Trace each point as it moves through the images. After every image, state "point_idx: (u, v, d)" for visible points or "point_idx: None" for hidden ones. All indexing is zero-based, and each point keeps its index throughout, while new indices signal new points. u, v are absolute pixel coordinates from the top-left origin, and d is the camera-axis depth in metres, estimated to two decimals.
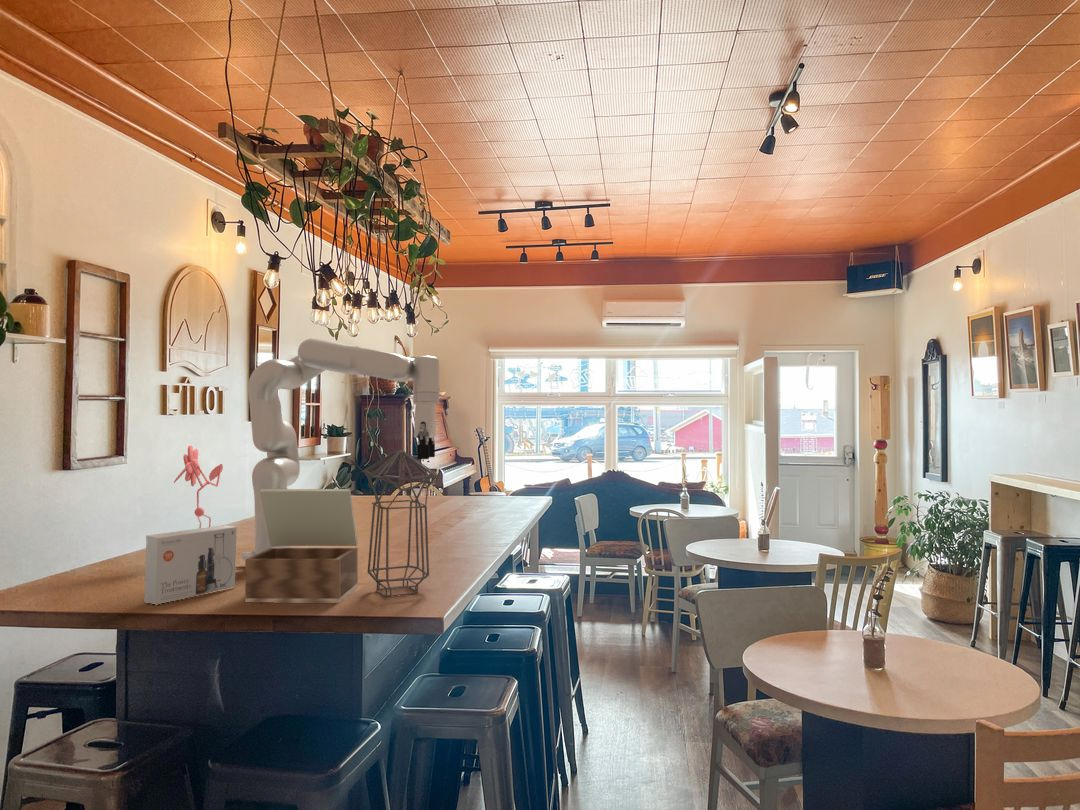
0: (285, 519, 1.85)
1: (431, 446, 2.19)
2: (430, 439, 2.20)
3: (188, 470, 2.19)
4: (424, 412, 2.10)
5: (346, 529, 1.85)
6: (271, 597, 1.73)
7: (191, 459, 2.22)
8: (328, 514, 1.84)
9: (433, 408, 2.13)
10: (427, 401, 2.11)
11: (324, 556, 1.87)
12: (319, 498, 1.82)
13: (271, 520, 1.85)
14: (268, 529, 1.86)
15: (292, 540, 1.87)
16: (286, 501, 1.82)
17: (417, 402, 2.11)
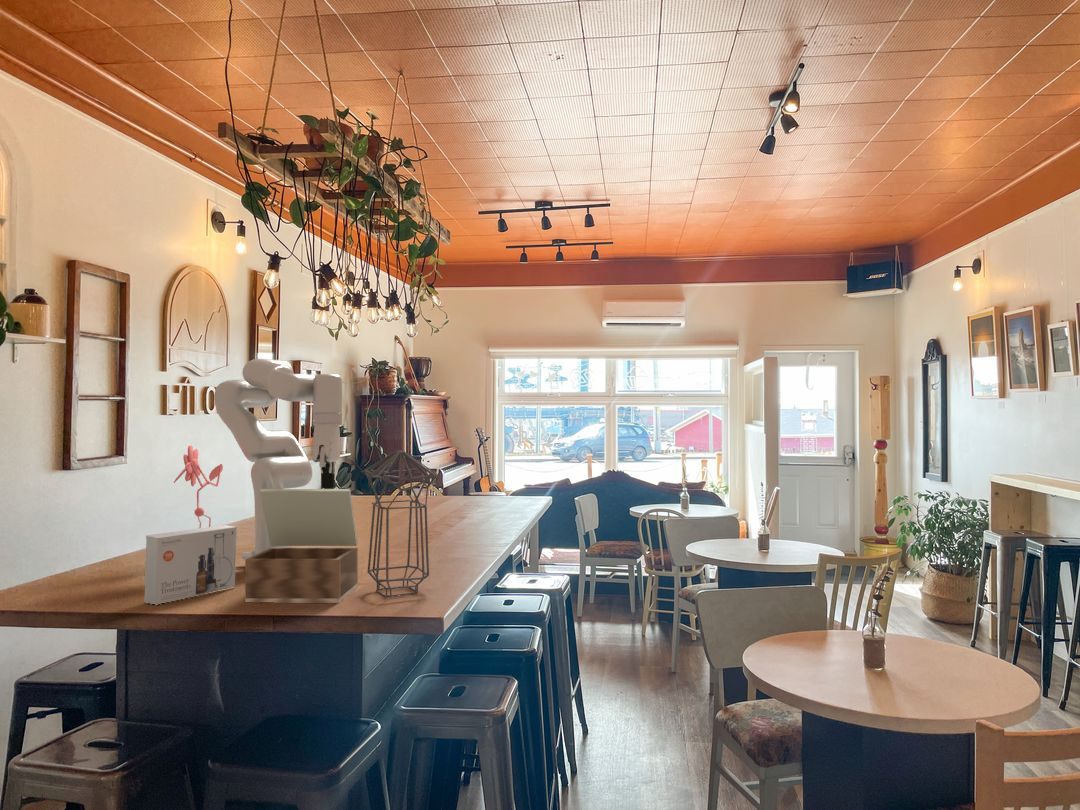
0: (285, 519, 1.85)
1: None
2: None
3: (188, 470, 2.19)
4: (323, 435, 1.95)
5: (346, 529, 1.85)
6: (271, 597, 1.73)
7: (191, 459, 2.22)
8: (328, 514, 1.84)
9: (334, 430, 1.98)
10: (327, 423, 1.96)
11: (324, 556, 1.87)
12: (319, 498, 1.82)
13: (271, 520, 1.85)
14: (268, 529, 1.86)
15: (292, 540, 1.87)
16: (286, 501, 1.82)
17: (316, 424, 1.97)
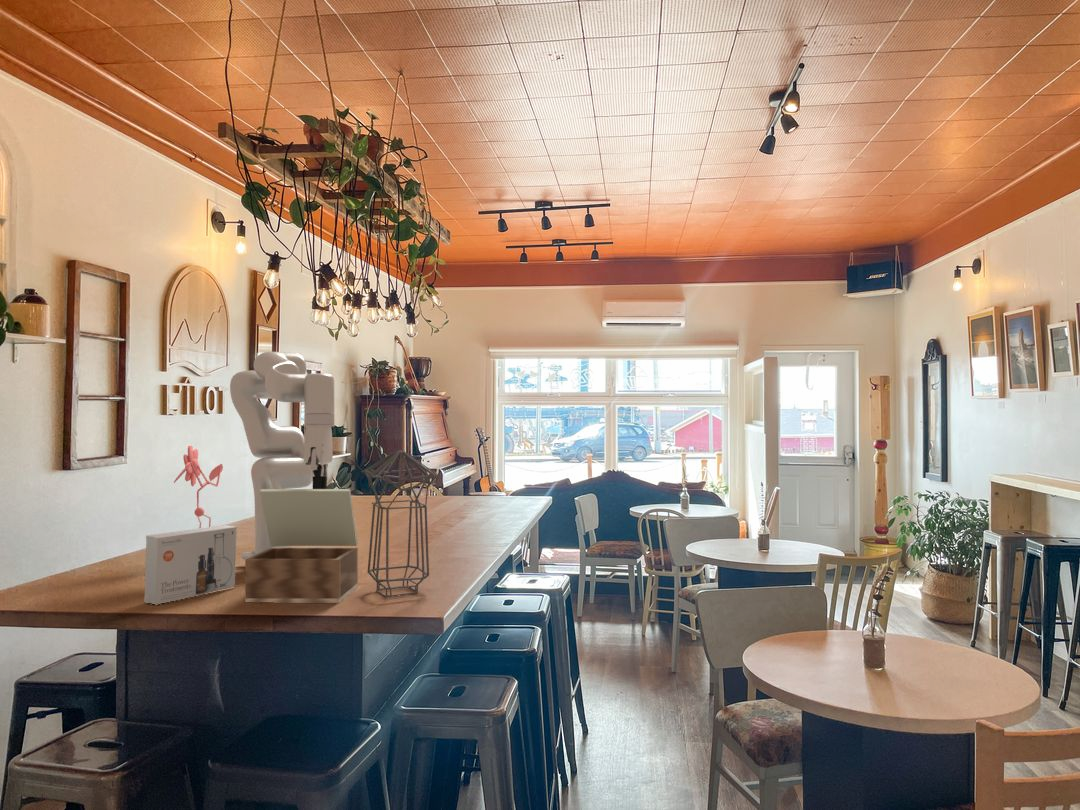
0: (285, 519, 1.85)
1: None
2: None
3: (188, 470, 2.19)
4: (315, 436, 1.88)
5: (346, 529, 1.85)
6: (271, 597, 1.73)
7: (191, 459, 2.22)
8: (328, 514, 1.84)
9: (326, 431, 1.91)
10: (318, 424, 1.89)
11: (324, 556, 1.87)
12: (319, 498, 1.82)
13: (271, 520, 1.85)
14: (268, 529, 1.86)
15: (292, 540, 1.87)
16: (286, 501, 1.82)
17: (308, 425, 1.90)
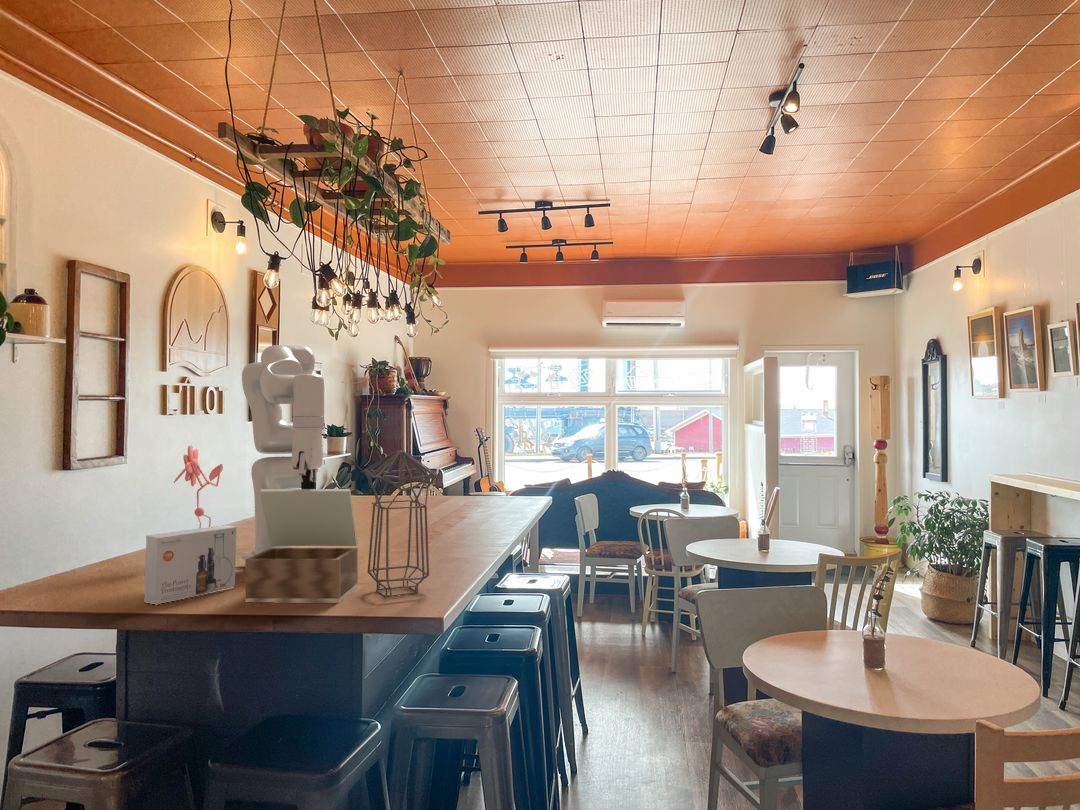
0: (285, 519, 1.85)
1: None
2: None
3: (188, 470, 2.19)
4: (303, 440, 1.80)
5: (346, 529, 1.85)
6: (271, 597, 1.73)
7: (191, 459, 2.22)
8: (328, 514, 1.84)
9: (315, 435, 1.83)
10: (307, 427, 1.81)
11: (324, 556, 1.87)
12: (319, 498, 1.82)
13: (271, 520, 1.85)
14: (268, 529, 1.86)
15: (292, 540, 1.87)
16: (286, 501, 1.82)
17: (296, 428, 1.81)
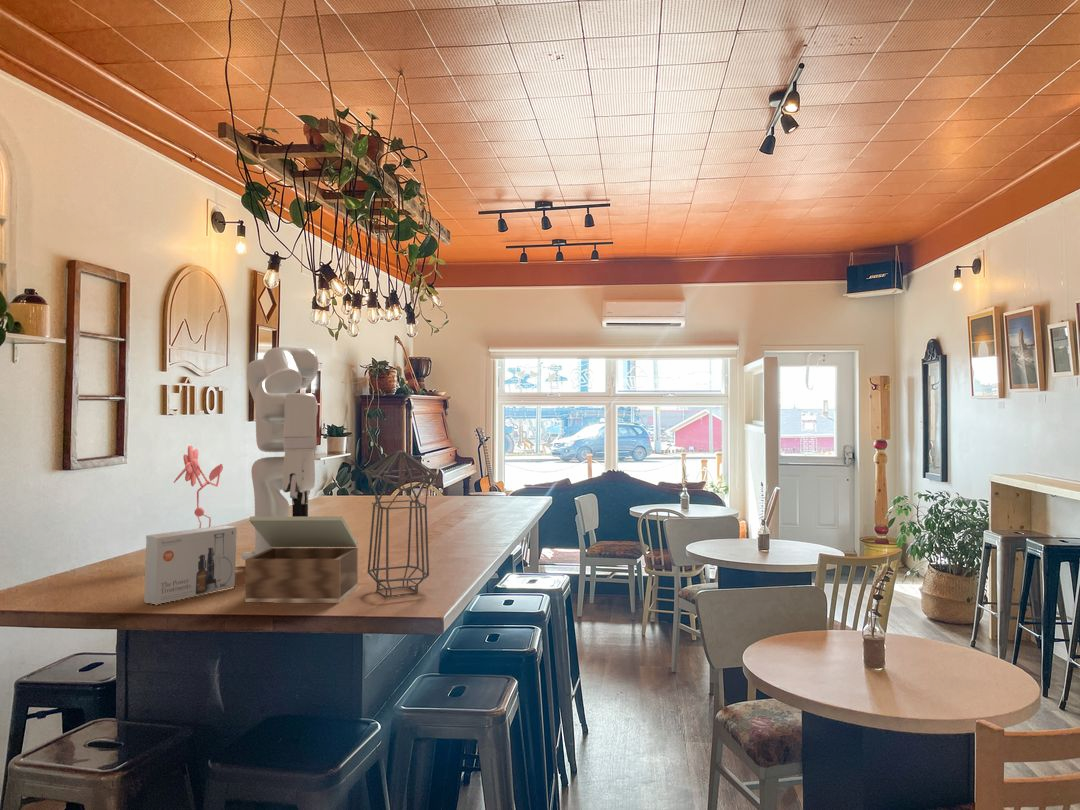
0: (281, 534, 1.82)
1: None
2: None
3: (188, 470, 2.19)
4: (294, 462, 1.74)
5: (344, 539, 1.84)
6: (271, 597, 1.73)
7: (191, 459, 2.22)
8: (324, 532, 1.80)
9: (307, 456, 1.77)
10: (299, 448, 1.75)
11: (324, 556, 1.87)
12: (312, 524, 1.76)
13: (267, 535, 1.82)
14: (265, 539, 1.84)
15: (292, 544, 1.87)
16: (279, 525, 1.77)
17: (287, 449, 1.75)
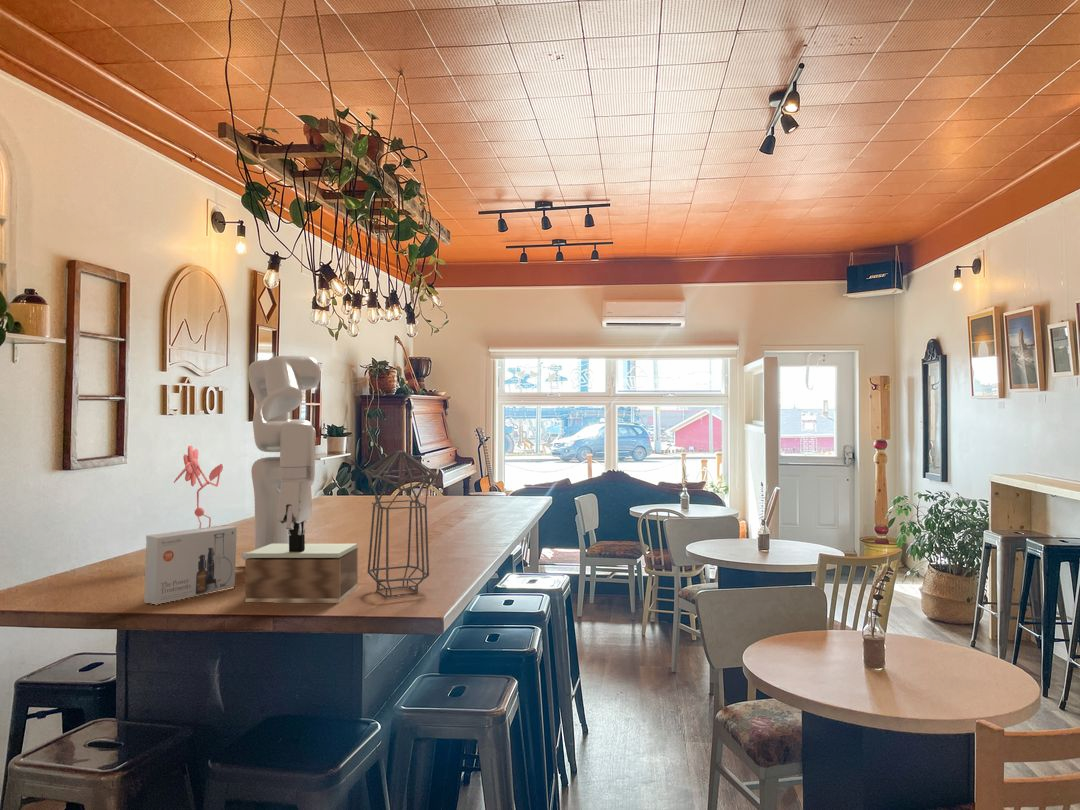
0: None
1: None
2: None
3: (188, 470, 2.19)
4: (291, 492, 1.71)
5: None
6: (271, 597, 1.73)
7: (191, 459, 2.22)
8: None
9: (304, 486, 1.74)
10: (295, 478, 1.72)
11: None
12: None
13: None
14: None
15: None
16: None
17: (283, 479, 1.73)
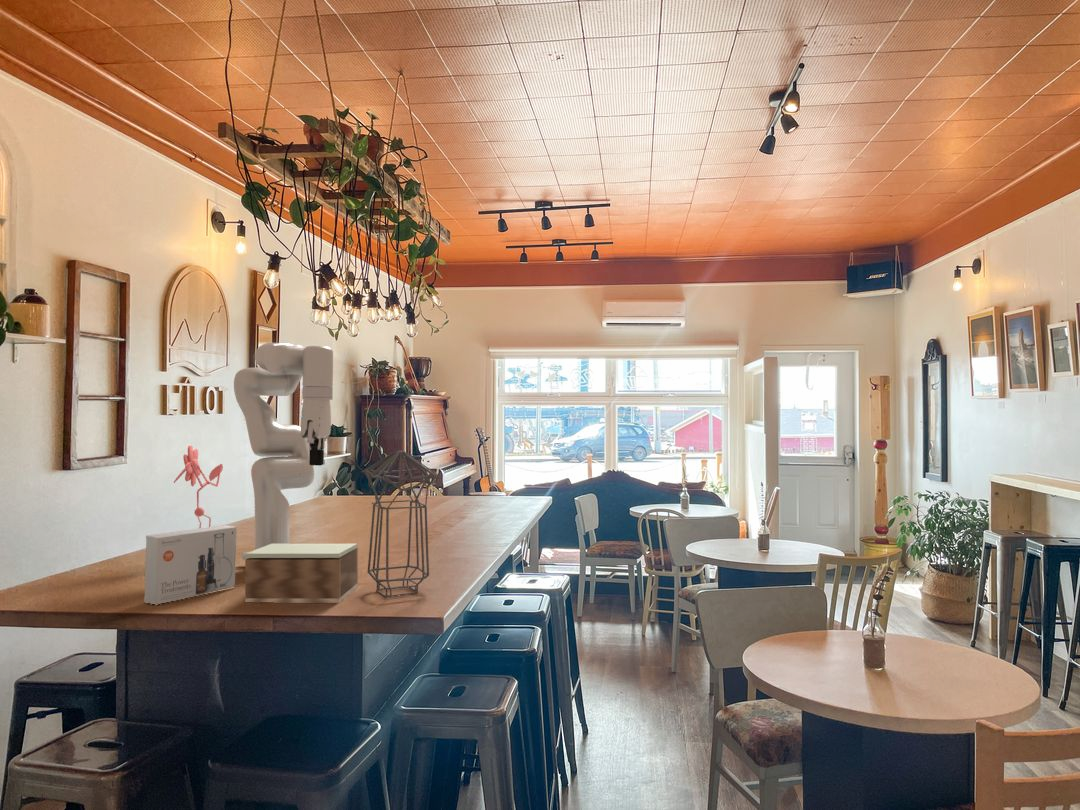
0: None
1: None
2: None
3: (188, 470, 2.19)
4: (311, 409, 1.86)
5: None
6: (271, 597, 1.73)
7: (191, 459, 2.22)
8: None
9: (324, 405, 1.89)
10: (316, 397, 1.88)
11: None
12: None
13: None
14: None
15: None
16: None
17: (305, 398, 1.88)
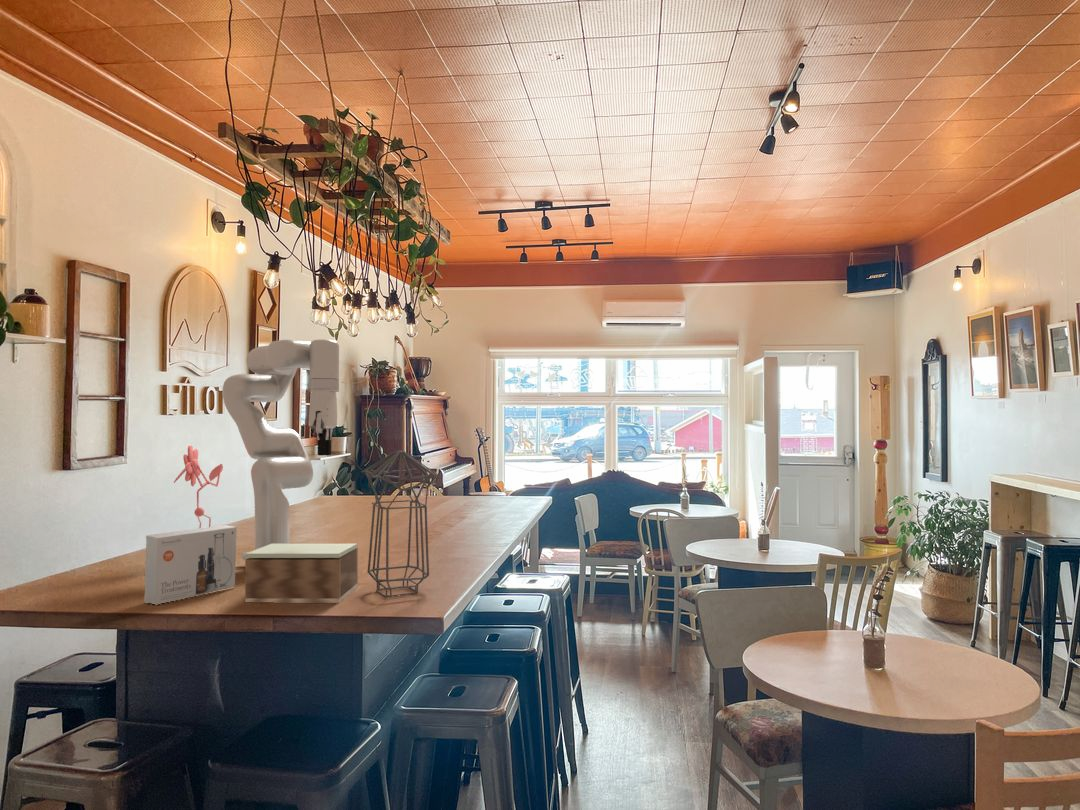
0: None
1: None
2: None
3: (188, 470, 2.19)
4: (320, 400, 1.92)
5: None
6: (271, 597, 1.73)
7: (191, 459, 2.22)
8: None
9: (331, 396, 1.95)
10: (323, 388, 1.94)
11: None
12: None
13: None
14: None
15: None
16: None
17: (313, 389, 1.94)
